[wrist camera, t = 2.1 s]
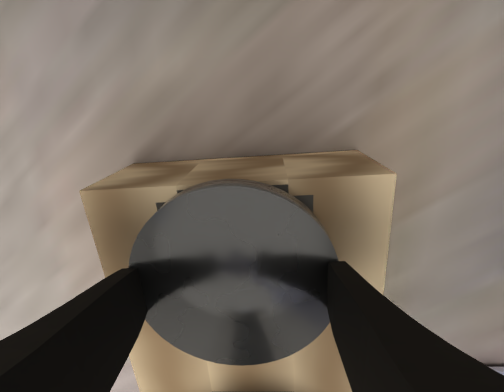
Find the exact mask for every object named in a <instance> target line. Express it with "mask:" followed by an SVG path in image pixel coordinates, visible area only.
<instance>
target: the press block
mask: <svg viewBox="0 0 504 392" xmlns="http://www.w3.org/2000/svg"><path fill="white" fill-rule="evenodd" d="M396 176H397V174H396V173H395V172H393V171H391V170H390V169H388V168H386V167H385V166H383V165H381V164H380V163H378V162H376V161H374V160H373V159H371V158H369V157H368V156H366V155H364V154H363V153H361V152H359V151H358V150H350V151H333V152H317V153H301V154H285V155H268V156H252V157H236V158H219V159H203V160H187V161H170V162H154V163H138V164H132V165H130V166H128V167H126V168H124V169H122V170H120V171H118V172H116V173H114V174H112V175H110V176H108V177H106V178H104V179H102V180H100V181H98V182H96V183H94V184H92V185H90V186H88V187H86V188H84V189H82V190H80V191H79V192H80V195H81V199H82V202H83V205H84V208H85V212H86V215H87V218H88V222H89V225H90V228H91V232H92V235H93V238H94V241H95V245H96V248H97V251H98V255H99V258H100V261H101V265H102V268H103V271H104V274H105V278H106V277H108V276H109V275H111V274H113V273H114V272H116V271H118V270H120V269H122V268H128V267H129V258H130V254H131V250H132V247H133V244H134V242H135V240H136V238H137V235H138V234H139V232H140V231H141V229H142V228H143V226H144V225H145V223H146V222H147V221H148V220H149V219H150V218H151V217H152V216H153V215H154V214H155V213H156V212H157V211H158V210H159V209H160V208H161V207H162V205H163V204H164V203H166V202H167V201H168V200H169V199H171V198H172V197H173V196H175V195H176V194H178V193H180V192H181V191H183V190H185V189H187V188H189V187H192V186H194V185H197V184H200V183H204V182H208V181H212V180H220V179H245V180H253V181H258V182H261V183H265V184H269V185H271V186H274V187H276V188H279V189H281V190H283V191H285V192H287V193H289V194H290V195H292V196H294V197H295V198H297V199H298V200H299V201H301V202H302V203H303V204H305V205H306V206H307V207H308V208H309V209H310V210H311V211H312V212H313V213H314V214H315V215H316V217H317V218H318V219H319V221H320V222H321V223H322V225H323V226H324V228H325V230H326V232H327V234H328V235H329V238H330V240H331V242H332V244H333V247H334V249H335V252H336V254H337V257H338V260H339V261H346V262H347V263H348V264H349V265H350V266H351V267H352V268H353V269H354V270H355V271H357V272H358V273H359V274H360V275H361V276H362V277H363V278H364V279H365V280H366V281H367V282H369V283H370V284H371V285H372V286H373V287H374V288H375V289H376V290H378V291H379V292H380V293H381V294H382V295H383V293H384V284H385V275H386V266H387V257H388V248H389V239H390V230H391V221H392V212H393V203H394V194H395V185H396ZM129 357H130V360H131V364H132V367H133V370H134V373H135V377H136V380H137V383H138V387H139V390H140V392H352V390H351V387H350V384H349V381H348V378H347V375H346V372H345V369H344V366H343V363H342V360H341V357H340V354H339V351H338V348H337V345H336V342H335V339H334V336H333V333H332V329H331V324H330V323H329V324H328V326H327V327H326V328H325V330H324V331H323V332H322V333H321V334H320V335H319V336H318V337H317V338H316V339H315V340H314V341H313V342H311V343H310V344H309V345H307V346H306V347H304V348H303V349H301V350H300V351H298V352H296V353H294V354H292V355H290V356H288V357H285V358H282V359H280V360H277V361H273V362H269V363H264V364H258V365H245V366H239V365H226V364H218V363H214V362H210V361H206V360H203V359H200V358H197V357H194V356H192V355H190V354H187V353H185V352H183V351H181V350H180V349H178V348H176V347H174V346H173V345H171V344H170V343H169V342H167V341H166V340H164V339H163V338H162V337H161V336H160V335H159V334H158V333H156V332H155V331H154V330H153V328H152V327H151V326H150V325H149V324H148V323H147V322H146V320H145V321H144V324H143V326H142V329H141V331H140V334H139V336H138V338H137V340H136V342H135V344H134V346H133V348H132V350H131V352H130V354H129Z"/></svg>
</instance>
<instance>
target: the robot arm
mask: <svg viewBox="0 0 504 392" xmlns="http://www.w3.org/2000/svg"><path fill="white" fill-rule="evenodd" d="M327 310H328V315H329V320H330V324H331V329H332V333H333V336H334V339H335V342H336V345H337V348H338V351H339V354H340V357H341V360H342V363H343V366H344V369H345V372H346V375H347V378H348V381H349V384H350V387H351V390H352V392H504V367H488V366H486V365H484V364H483V363H481V362H479V361H477V360H476V359H474V358H472V357H471V356H469V355H467V354H466V353H464V352H462V351H461V350H459V349H457V348H456V347H454V346H453V345H451V344H449V343H448V342H446V341H445V340H443V339H442V338H440V337H439V336H437V335H436V334H434V333H433V332H431V331H430V330H428V329H427V328H425V327H424V326H422V325H421V324H420V323H418V322H417V321H415V320H414V319H413V318H411V317H410V316H409V315H407V314H406V313H405V312H404V311H402V310H401V309H400V308H398V307H397V306H396V305H394V304H393V303H392V302H391V301H390V300H388V299H387V298H386V297H385V296H383V295H382V294H381V293H380V292H379V291H378V290H376V289H375V288H374V287H373V286H372V285H371V284H370V283H369V282H367V281H366V280H365V279H364V278H363V277H362V276H361V275H360V274H359V273H358V272H357V271H355V270H354V269H353V268H352V267H351V266H350V265H349V264H348V263H347V262H346V261H334V262H328V285H327ZM147 312H148V309H147V305H146V301H145V297H144V293H143V289H142V285H141V281H140V277H139V273H138V269H137V268H122V269H120V270H118V271H116V272H114V273H113V274H111V275H109V276H108V277H106V278H105V279H103V280H101V281H100V282H98V283H97V284H95V285H94V286H92V287H90V288H89V289H87V290H86V291H84V292H83V293H81V294H79V295H78V296H76V297H75V298H73V299H72V300H70V301H69V302H67V303H65V304H64V305H62V306H60V307H59V308H57V309H55V310H54V311H52V312H50V313H49V314H47V315H45V316H44V317H42V318H40V319H39V320H37V321H35V322H34V323H32V324H30V325H28V326H27V327H25V328H23V329H21V330H19V331H18V332H16V333H14V334H12V335H10V336H8V337H6V338H5V339H3V340H1V341H0V392H110V390H111V388H112V386H113V385H114V383H115V381H116V379H117V377H118V375H119V373H120V371H121V369H122V367H123V366H124V364H125V362H126V360H127V358H128V356H129V354H130V352H131V350H132V348H133V346H134V344H135V342H136V340H137V338H138V336H139V334H140V331H141V329H142V326H143V324H144V321H145V318H146V315H147Z"/></svg>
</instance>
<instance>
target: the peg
mask: <svg viewBox="0 0 504 392" xmlns="http://www.w3.org/2000/svg"><path fill="white" fill-rule="evenodd" d="M334 261H339V260H338V257H337V254H336V252H335V249H334V247H333V244H332V242H331V240H330V238H329V235H328V234H327V232H326V230H325V228H324V226H323V225H322V223H321V222H320V221H319V219H318V218H317V217H316V215H315V214H314V213H313V212H312V211H311V210H310V209H309V208H308V207H307V206H306V205H305V204H303V203H302V202H301V201H299V200H298V199H297V198H295V197H294V196H292V195H290V194H289V193H287V192H285V191H283V190H281V189H279V188H276V187H274V186H271V185H269V184H265V183H261V182H258V181H253V180H245V179H220V180H212V181H208V182H204V183H200V184H197V185H194V186H192V187H189V188H187V189H185V190H183V191H181V192H180V193H178V194H176V195H175V196H173V197H172V198H171V199H169V200H168V201H167V202H166V203H164V204H163V205H162V207H161V208H160V209H159V210H158V211H157V212H156V213H155V214H154V215H153V216H152V217H151V218H150V219H149V220H148V221H147V222H146V223H145V225H144V226H143V228H142V229H141V231H140V232H139V234H138V235H137V238H136V240H135V242H134V244H133V247H132V250H131V254H130V258H129V267H128V268H137V269H138V273H139V277H140V281H141V285H142V289H143V293H144V297H145V301H146V305H147V309H148V312H147V315H146V318H145V320H146V322H147V323H148V324H149V325H150V326H151V327H152V328H153V330H154V331H155V332H156V333H158V334H159V335H160V336H161V337H162V338H163V339H164V340H166V341H167V342H169V343H170V344H171V345H173V346H174V347H176V348H178V349H180V350H181V351H183V352H185V353H187V354H190V355H192V356H194V357H197V358H200V359H203V360H206V361H210V362H214V363H218V364H226V365H239V366H245V365H258V364H264V363H269V362H273V361H277V360H280V359H282V358H285V357H288V356H290V355H292V354H294V353H296V352H298V351H300V350H301V349H303V348H304V347H306V346H307V345H309V344H310V343H311V342H313V341H314V340H315V339H316V338H317V337H318V336H319V335H320V334H321V333H322V332H323V331H324V330H325V328H326V327H327V326H328V324H329V323H330V320H329V315H328V310H327V285H328V262H334Z"/></svg>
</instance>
